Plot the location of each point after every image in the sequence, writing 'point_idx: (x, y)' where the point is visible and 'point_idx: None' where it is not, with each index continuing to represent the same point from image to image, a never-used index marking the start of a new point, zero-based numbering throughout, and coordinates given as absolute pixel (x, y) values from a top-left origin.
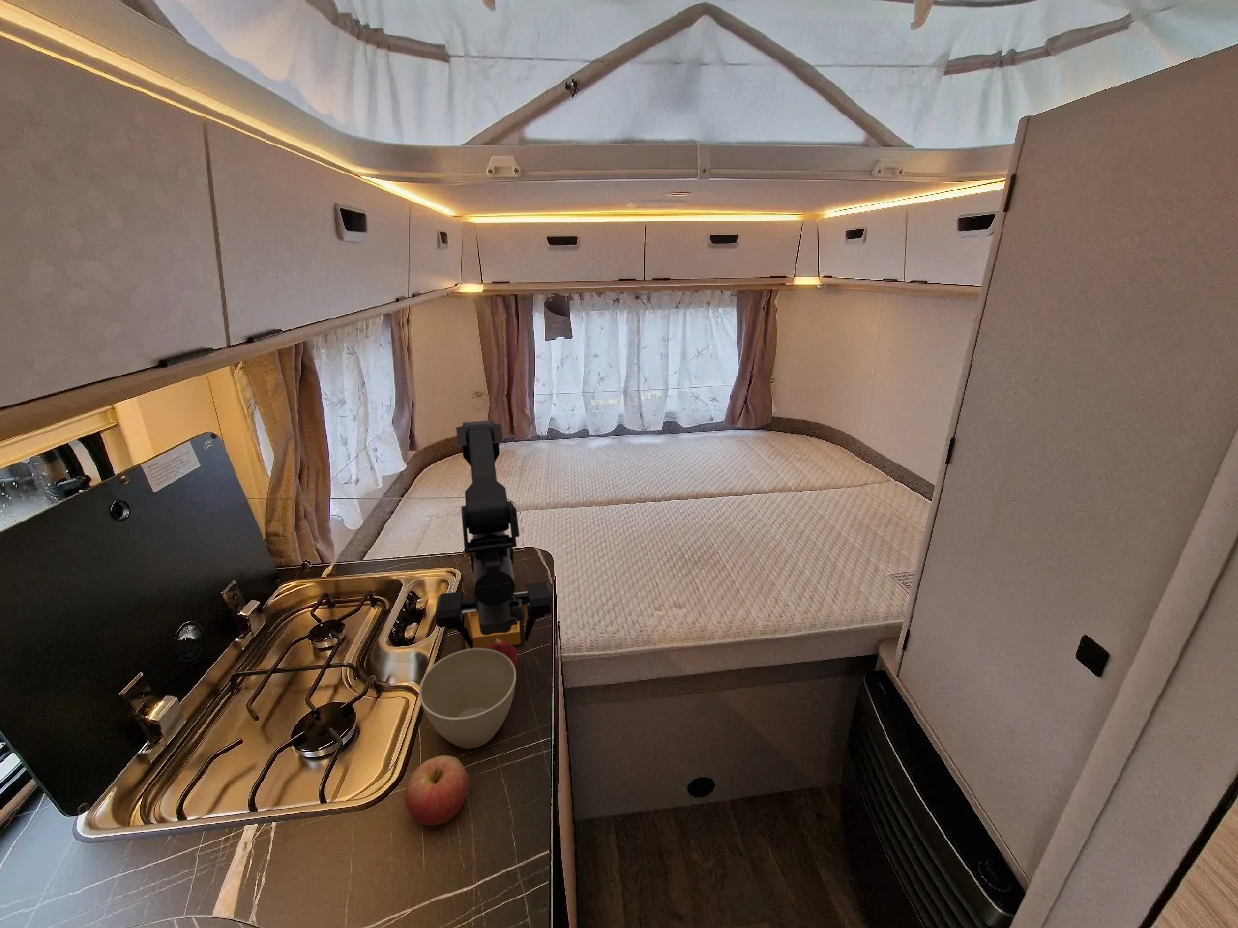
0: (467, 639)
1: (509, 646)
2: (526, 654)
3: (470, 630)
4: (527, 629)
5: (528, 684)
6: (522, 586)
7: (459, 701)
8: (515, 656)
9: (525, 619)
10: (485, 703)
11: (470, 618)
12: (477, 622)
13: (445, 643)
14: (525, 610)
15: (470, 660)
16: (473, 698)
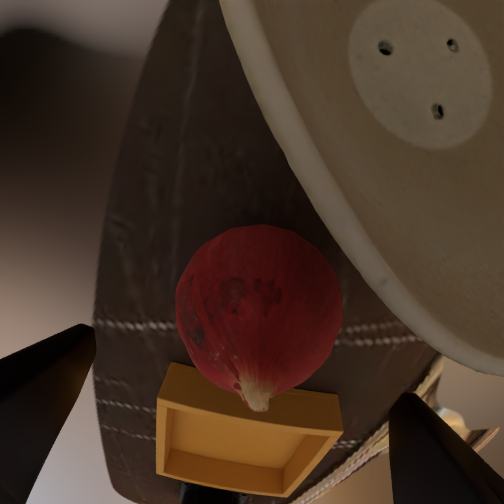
0: (458, 445)
1: (197, 341)
2: (159, 315)
3: (413, 492)
4: (14, 376)
5: (179, 176)
6: (151, 477)
7: (469, 174)
8: (184, 281)
9: (27, 449)
10: (376, 127)
11: (289, 468)
12: (274, 455)
13: (371, 425)
14: (27, 493)
15: (487, 301)
16: (420, 166)
